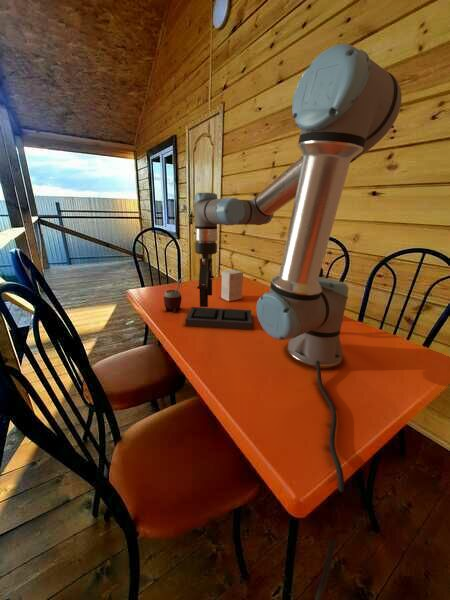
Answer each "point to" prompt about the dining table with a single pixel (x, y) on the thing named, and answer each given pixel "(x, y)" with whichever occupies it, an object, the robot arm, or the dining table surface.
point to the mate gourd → (173, 299)
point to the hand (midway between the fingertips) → (206, 300)
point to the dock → (219, 320)
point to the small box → (232, 285)
